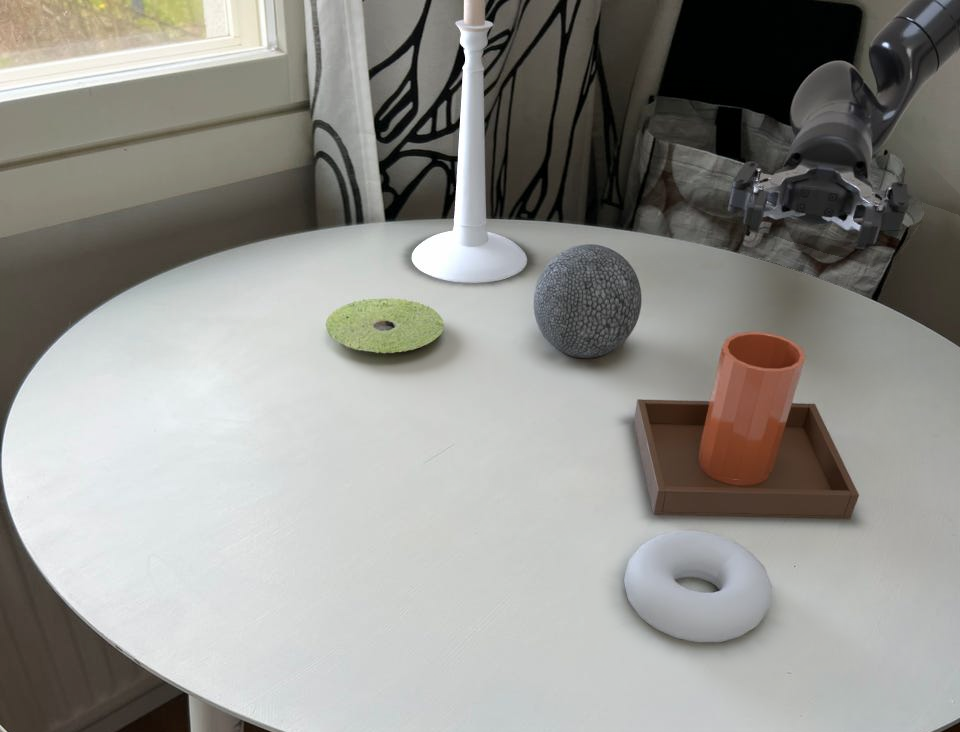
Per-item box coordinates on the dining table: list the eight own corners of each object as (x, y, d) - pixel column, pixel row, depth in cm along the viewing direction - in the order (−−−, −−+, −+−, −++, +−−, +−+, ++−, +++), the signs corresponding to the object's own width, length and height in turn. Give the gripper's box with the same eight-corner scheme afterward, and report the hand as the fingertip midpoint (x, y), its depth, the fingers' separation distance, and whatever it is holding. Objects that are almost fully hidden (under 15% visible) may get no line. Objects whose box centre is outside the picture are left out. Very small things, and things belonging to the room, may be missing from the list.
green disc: (344, 310, 97) (343, 291, 95) (453, 321, 96) (453, 303, 94) (313, 363, 89) (311, 344, 87) (431, 376, 88) (431, 357, 86)
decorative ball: (580, 389, 87) (593, 282, 80) (508, 347, 92) (514, 243, 85) (654, 356, 92) (672, 253, 85) (582, 318, 97) (593, 218, 90)
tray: (806, 432, 83) (815, 403, 81) (848, 524, 73) (859, 495, 71) (632, 427, 82) (637, 398, 80) (652, 520, 73) (658, 490, 71)
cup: (763, 444, 80) (794, 332, 73) (779, 486, 75) (814, 372, 68) (692, 443, 79) (716, 330, 72) (704, 485, 75) (731, 369, 68)
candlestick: (538, 284, 102) (563, -57, 81) (420, 290, 100) (414, -58, 79) (513, 237, 111) (529, -81, 90) (404, 242, 109) (396, -82, 88)
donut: (592, 605, 66) (715, 676, 61) (597, 567, 64) (725, 637, 59) (673, 541, 71) (792, 601, 67) (681, 503, 69) (805, 563, 64)
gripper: (758, 111, 86) (730, 165, 75) (922, 131, 83) (918, 192, 72) (740, 197, 91) (711, 260, 80) (894, 220, 88) (886, 288, 77)
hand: (809, 228), depth 76 cm, fingers open, 8 cm apart
